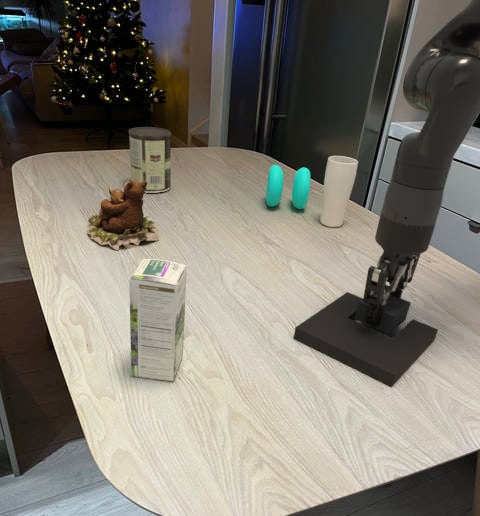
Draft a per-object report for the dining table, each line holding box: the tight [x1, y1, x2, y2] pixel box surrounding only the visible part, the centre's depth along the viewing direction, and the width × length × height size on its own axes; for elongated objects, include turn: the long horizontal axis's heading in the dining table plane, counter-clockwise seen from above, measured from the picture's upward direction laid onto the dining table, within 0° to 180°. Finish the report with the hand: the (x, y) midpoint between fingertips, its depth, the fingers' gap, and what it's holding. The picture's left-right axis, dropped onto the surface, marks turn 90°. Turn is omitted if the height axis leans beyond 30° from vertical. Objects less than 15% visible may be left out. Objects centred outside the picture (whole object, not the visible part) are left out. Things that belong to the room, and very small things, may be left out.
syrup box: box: [128, 258, 188, 382], centre depth 62 cm, size 6×6×14 cm
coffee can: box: [128, 126, 172, 194], centre depth 125 cm, size 10×10×14 cm
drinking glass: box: [319, 155, 359, 228], centre depth 113 cm, size 7×7×15 cm
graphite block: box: [354, 293, 411, 335], centre depth 77 cm, size 6×6×3 cm
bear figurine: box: [86, 180, 160, 251], centre depth 99 cm, size 14×15×12 cm
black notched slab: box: [293, 291, 439, 388], centre depth 76 cm, size 16×16×2 cm
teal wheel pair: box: [265, 164, 312, 210], centre depth 122 cm, size 10×10×10 cm
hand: (381, 315), depth 78 cm, fingers closed on graphite block, 6 cm apart
